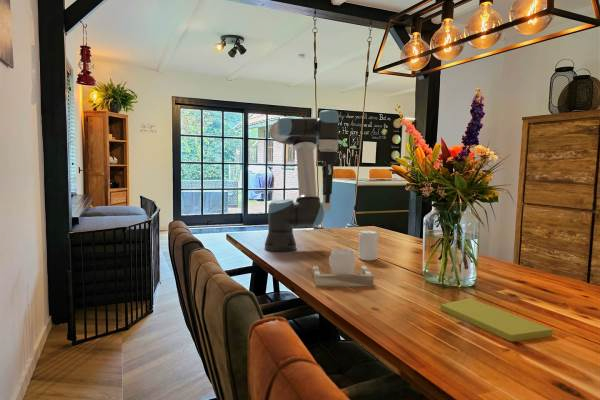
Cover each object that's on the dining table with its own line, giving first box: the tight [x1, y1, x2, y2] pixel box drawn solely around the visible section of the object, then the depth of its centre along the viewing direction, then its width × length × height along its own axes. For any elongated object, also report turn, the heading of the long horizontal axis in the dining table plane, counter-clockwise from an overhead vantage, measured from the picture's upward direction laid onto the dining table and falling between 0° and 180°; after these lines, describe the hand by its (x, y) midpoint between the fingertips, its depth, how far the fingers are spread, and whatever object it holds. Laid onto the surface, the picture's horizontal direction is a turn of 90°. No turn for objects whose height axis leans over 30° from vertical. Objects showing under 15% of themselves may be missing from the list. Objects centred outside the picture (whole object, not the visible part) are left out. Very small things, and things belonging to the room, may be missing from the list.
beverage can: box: [357, 229, 379, 262], centre depth 167 cm, size 8×8×12 cm
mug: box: [328, 248, 356, 274], centre depth 139 cm, size 12×8×10 cm
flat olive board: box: [439, 297, 554, 342], centre depth 103 cm, size 12×2×24 cm
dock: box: [312, 265, 375, 287], centre depth 137 cm, size 13×20×4 cm, turn 92°
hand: (326, 210), depth 154 cm, fingers closed
